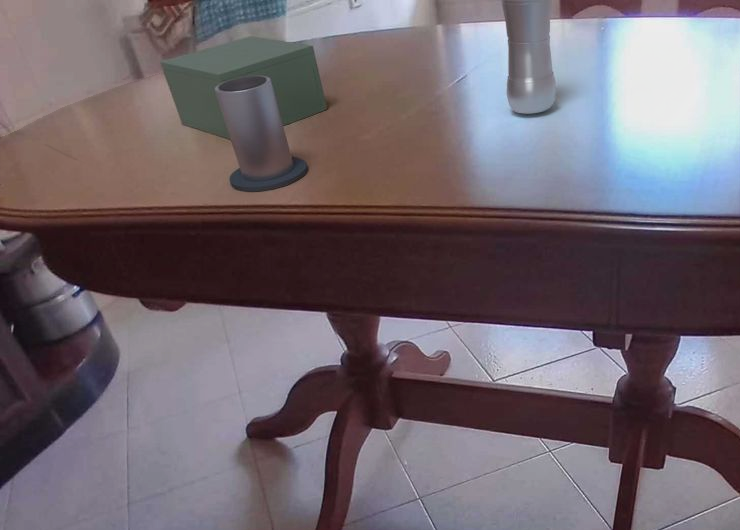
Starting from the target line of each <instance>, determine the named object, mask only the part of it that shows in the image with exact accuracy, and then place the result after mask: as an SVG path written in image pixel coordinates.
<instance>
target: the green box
mask: <svg viewBox="0 0 740 530" xmlns="http://www.w3.org/2000/svg"><path fill="white" fill-rule="evenodd" d="M159 63H160V67H161V69H162V71H163V74H164V78H165V80H166V83H167V86H168V89H169V92H170V94H171V97H172V100H173V103H174V106H175V109H176V112H177V114H178V117H179V120H180V122H181V125H182V126H185V127H186V126H187V127H190V128H193V129H196V130H199V131H202V132H205V133H208V134H210V135H211V134H212V135H214V136H218V137H221V138H224V139H227V140H230V141H231V139H230V136H229V132H228V129H227V126H226V123H225V120H224V117H223V114H222V111H221V107H220V104H219V101H218V98H217V95H216V92H215V87H216V86H218V85H219V84H221V83H223V82H226V81H229V80H232V79H236V78H241V77H247V76H266V77H269V78H270V79H271V83H272V87H273V90H274V94H275V98H276V101H277V105H278V109H279V112H280V116H281V120H282V124H283V127H285V126H288V125H290V124H292V123H295V122H299V121H300V120H303V119H306V118H309V117H311V116H313V115H317V114H320V113H322V112H324V111H327V110H328V106H327V103H326V102H327V101H326V98H325V93H324V89H323V85H322V84H323V83H322V80H321V75H320V71H319V67H318V62H317V57H316V54H315V48H314V45H311V44H305V43H298V42H292V41H286V40H279V39H272V38H266V37H259V36H252V35H250V36H246V37H242V38H239V39H236V40H231V41H229V42H225V43H220V44H217V45H213V46H211V47H207V48H204V49H200V50H196V51H194V52H190V53H186V54H183V55H179V56H175V57H172V58H168V59H165V60H161V61H159Z"/></svg>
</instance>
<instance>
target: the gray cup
mask: <svg viewBox="0 0 740 530" xmlns="http://www.w3.org/2000/svg"><path fill="white" fill-rule="evenodd" d="M215 92H216V95H217V98H218V101H219V104H220V107H221V111H222V114H223V117H224V120H225V123H226V126H227V129H228V132H229V136H230V139H231V140H230V139H229V140H230V141H231V145H232V148H233V151H234V154H235V158H236V160H237V161H236V162H237V164H238V168H240V170H241V173H242V176H243V178H244V179H246V180H249V181H265V180H271V179H275V178H278V177H281V176H283V175H285V174H287V173H289V172H290V171H291V170H292V169H293V168H294V164H293V161H292V157H293V156H292V153H291V149H290V146H289V142H288V139H287V136H286V130H285V128H284V127H285V126H283V124H282V120H281V116H280V112H279V109H278V105H277V101H276V98H275V94H274V90H273V87H272V83H271V79H270V78H269V77H266V76H247V77H241V78H236V79H232V80H229V81H226V82H223V83H221V84H219V85H218V86H216V87H215Z"/></svg>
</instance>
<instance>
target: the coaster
mask: <svg viewBox="0 0 740 530" xmlns="http://www.w3.org/2000/svg"><path fill="white" fill-rule="evenodd" d="M291 157H292V161H293V164H294V168H293V169H292V170H291V171H290V172H289V173H287V174H285V175H283V176H281V177H278V178H275V179H271V180H265V181H249V180H246V179H244V178H243V176H242V173H241V170H240V167H238V168H237V169H235V170H234V171H233V172H232V173H231V174H230V176H229V179H228V180H229V182H230V186H231V187H232V188H233V189H235V190H238V191H242V192H252V193H253V192H264V191H265V192H266V191H271V190H276V189H280V188H282V187H286V186H288V185H291V184H293V183H295V182H297V181H299V180H300V179H302V178H304V177H305V175H306V174H307V173H308V170H309V169H308V164H307V162H306V161H305V160H304V159H302V158H300V157H297V156H296V157H295V156H291Z"/></svg>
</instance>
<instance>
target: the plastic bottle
mask: <svg viewBox="0 0 740 530" xmlns="http://www.w3.org/2000/svg"><path fill="white" fill-rule="evenodd" d="M500 2H501V6H502V12H503V17H504V22H505V29H506V37H507V47H508V53H507V55H508V57H507V58H508V59H507V60H508V61H507V66H508V68H507V71H508V73H507V74H508V75H507V80H506V98H507V102H508V105H509V107H510V108H511V109H512V111H513V112H515V113H518V114H526V115H527V114H529V115H530V114H538V113H542V112H545V111H547V110H549V109H551V108H552V107H553V105H554V103H555V101H556V96H557V83H556V77H555V74H554V71H553V61H552V51H551V35H550V33H551V13H552V2H553V0H501V1H500Z"/></svg>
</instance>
